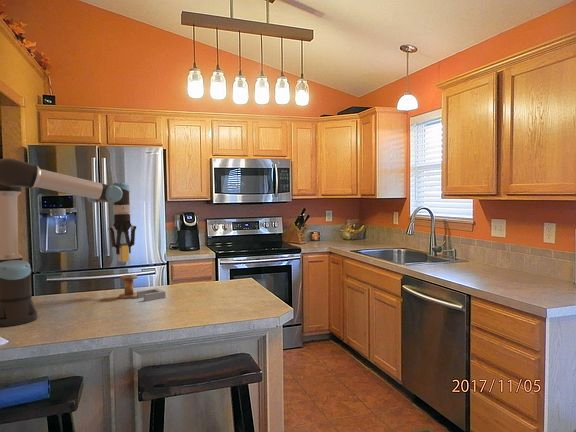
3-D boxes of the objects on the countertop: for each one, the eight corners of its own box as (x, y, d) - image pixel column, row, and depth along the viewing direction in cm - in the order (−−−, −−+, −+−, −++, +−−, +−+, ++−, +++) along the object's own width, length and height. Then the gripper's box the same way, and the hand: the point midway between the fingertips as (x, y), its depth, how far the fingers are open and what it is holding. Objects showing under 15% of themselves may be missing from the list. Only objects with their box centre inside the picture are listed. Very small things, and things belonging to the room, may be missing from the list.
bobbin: (122, 299, 197) (122, 278, 196) (116, 296, 204) (115, 276, 203) (141, 296, 203) (141, 276, 202) (134, 293, 210) (134, 273, 209)
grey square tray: (145, 301, 193) (144, 294, 193) (137, 297, 201) (136, 291, 201) (165, 297, 200) (165, 291, 200) (157, 294, 207) (156, 288, 207)
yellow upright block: (122, 262, 206) (121, 243, 205) (119, 261, 209) (118, 243, 209) (128, 261, 208) (128, 243, 207) (125, 260, 211) (124, 242, 211)
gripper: (107, 214, 199) (109, 263, 200) (140, 213, 210) (142, 259, 211) (102, 214, 205) (104, 261, 206) (135, 212, 215) (136, 257, 217)
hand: (123, 260), depth 209 cm, fingers closed on yellow upright block, 3 cm apart
